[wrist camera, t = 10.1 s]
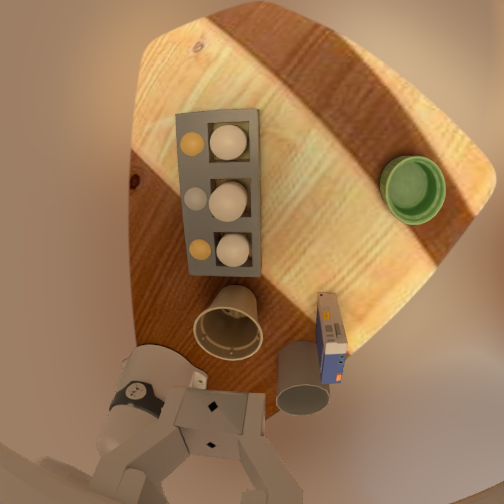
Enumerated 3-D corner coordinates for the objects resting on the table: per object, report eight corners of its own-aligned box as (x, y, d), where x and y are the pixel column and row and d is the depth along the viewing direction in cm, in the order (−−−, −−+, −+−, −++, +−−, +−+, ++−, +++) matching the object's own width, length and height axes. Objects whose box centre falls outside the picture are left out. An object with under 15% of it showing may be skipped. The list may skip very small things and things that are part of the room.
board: (261, 267, 44) (260, 277, 41) (194, 265, 45) (189, 275, 42) (259, 109, 35) (257, 108, 32) (183, 114, 36) (174, 114, 33)
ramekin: (364, 196, 38) (373, 205, 34) (393, 139, 35) (406, 142, 31) (413, 225, 39) (425, 236, 35) (441, 172, 35) (456, 179, 31)
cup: (292, 334, 49) (293, 378, 40) (333, 349, 49) (340, 392, 40) (270, 365, 52) (267, 408, 43) (309, 378, 53) (311, 420, 44)
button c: (248, 156, 37) (245, 159, 34) (216, 157, 38) (210, 160, 35) (248, 124, 36) (244, 124, 32) (215, 125, 36) (209, 126, 33)
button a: (251, 256, 43) (248, 267, 40) (222, 255, 43) (217, 266, 40) (250, 228, 41) (248, 237, 38) (220, 228, 42) (215, 237, 39)
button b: (248, 213, 38) (245, 221, 35) (215, 213, 39) (210, 221, 35) (247, 180, 36) (244, 186, 33) (214, 181, 37) (207, 187, 34)
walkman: (331, 331, 48) (341, 385, 37) (315, 331, 48) (321, 386, 37) (335, 291, 45) (349, 343, 34) (318, 291, 45) (326, 344, 34)
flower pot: (199, 311, 48) (185, 346, 41) (217, 265, 45) (204, 296, 37) (253, 331, 49) (247, 368, 41) (276, 288, 45) (274, 323, 37)
